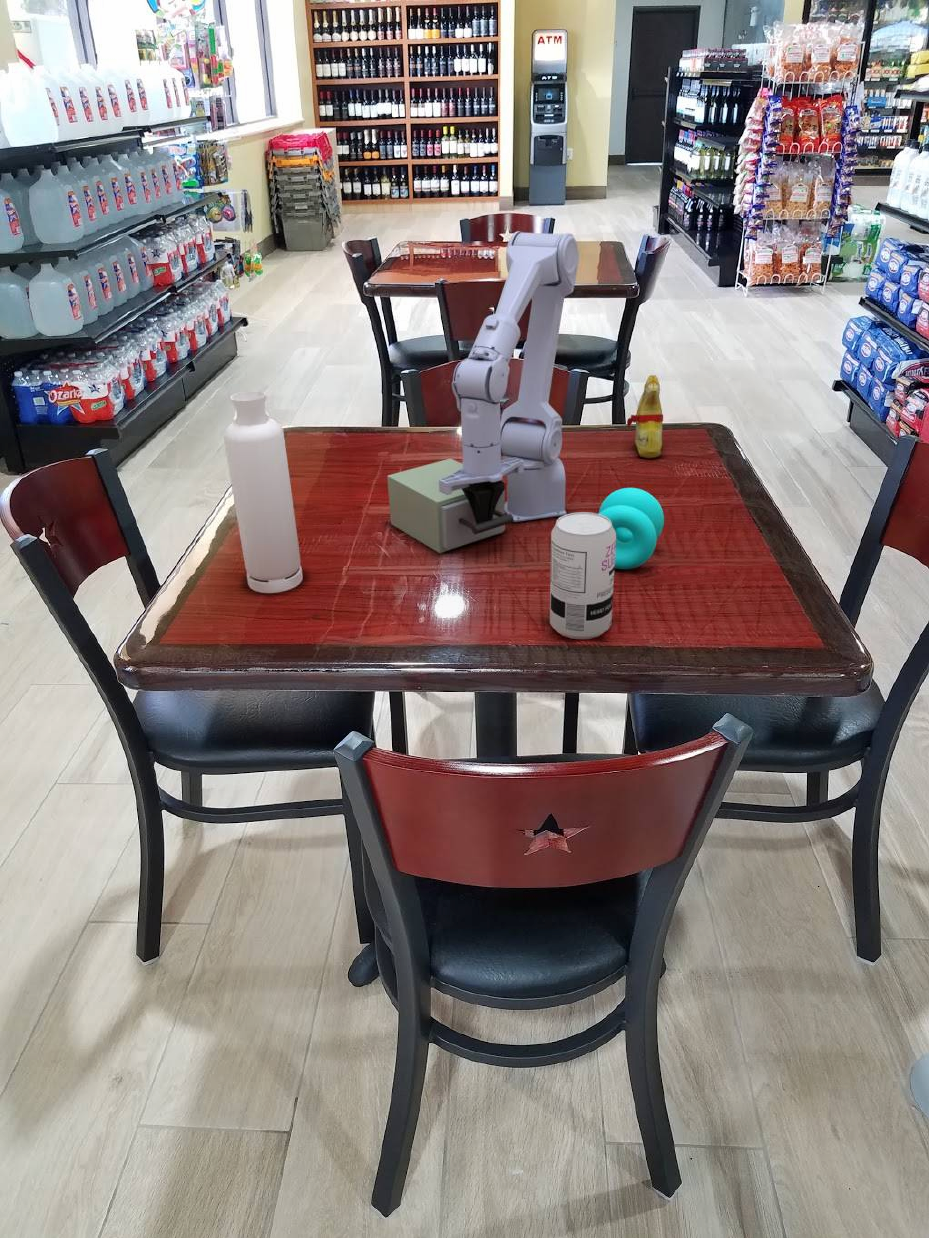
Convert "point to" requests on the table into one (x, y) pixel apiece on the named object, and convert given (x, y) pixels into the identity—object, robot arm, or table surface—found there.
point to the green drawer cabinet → (423, 501)
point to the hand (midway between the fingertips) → (483, 525)
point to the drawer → (470, 523)
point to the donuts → (633, 525)
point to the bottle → (262, 495)
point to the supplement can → (582, 575)
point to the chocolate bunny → (649, 420)
